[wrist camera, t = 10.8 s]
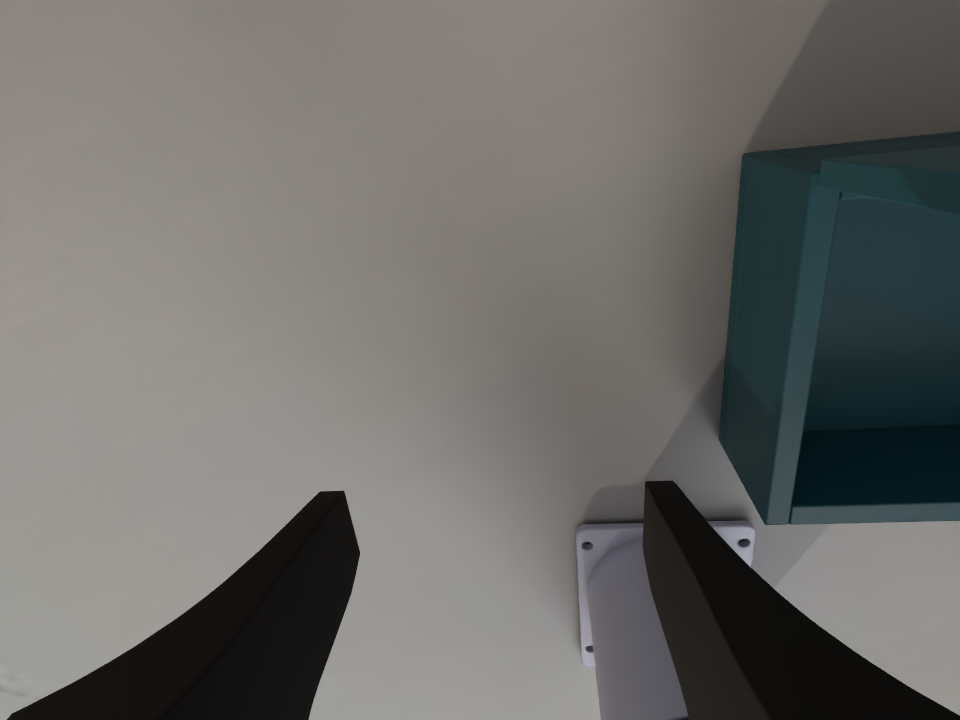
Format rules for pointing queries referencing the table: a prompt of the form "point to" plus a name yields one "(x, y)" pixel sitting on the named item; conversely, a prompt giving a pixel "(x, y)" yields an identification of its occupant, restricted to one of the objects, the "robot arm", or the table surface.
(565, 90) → the table surface
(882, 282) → the cool box
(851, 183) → the cool box lid
